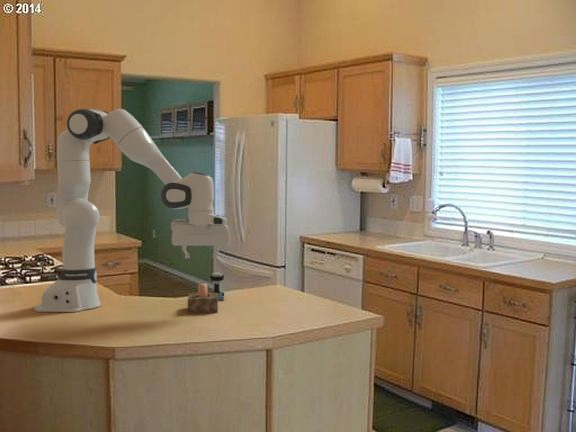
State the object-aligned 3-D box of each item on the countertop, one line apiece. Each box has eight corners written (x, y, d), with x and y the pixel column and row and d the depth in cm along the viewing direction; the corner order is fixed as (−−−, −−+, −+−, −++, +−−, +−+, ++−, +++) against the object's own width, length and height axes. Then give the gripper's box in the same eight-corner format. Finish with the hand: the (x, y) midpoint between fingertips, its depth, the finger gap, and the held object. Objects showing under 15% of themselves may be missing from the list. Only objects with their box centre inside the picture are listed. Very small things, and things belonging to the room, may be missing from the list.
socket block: (187, 313, 214) (187, 299, 214) (190, 307, 224) (189, 293, 224) (217, 312, 215) (217, 298, 215) (218, 306, 225) (217, 292, 225)
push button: (230, 299, 237) (229, 273, 237) (221, 301, 233) (220, 275, 232) (216, 297, 241) (216, 271, 240) (207, 300, 236) (207, 273, 236)
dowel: (198, 310, 218) (197, 285, 217) (198, 308, 221) (198, 283, 220) (207, 310, 218) (206, 285, 218) (208, 308, 221) (207, 283, 221)
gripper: (169, 219, 213) (169, 259, 214) (230, 219, 215) (229, 259, 216) (171, 218, 220) (171, 257, 220) (230, 218, 221) (230, 257, 222)
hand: (201, 258), depth 218 cm, fingers open, 8 cm apart
